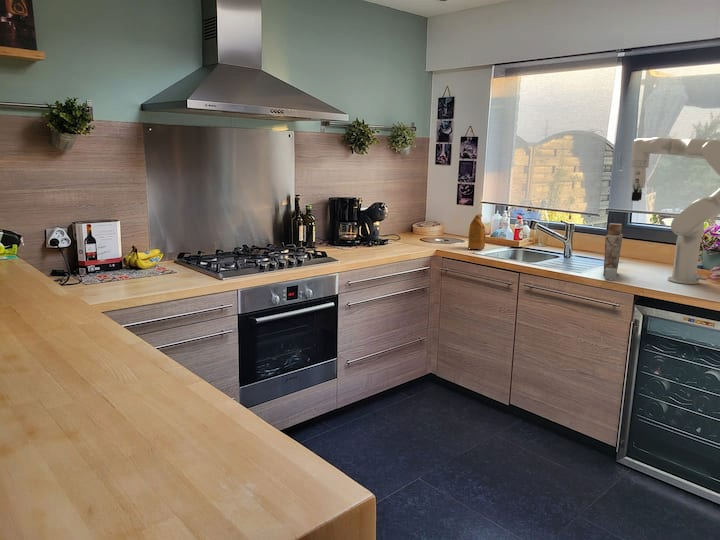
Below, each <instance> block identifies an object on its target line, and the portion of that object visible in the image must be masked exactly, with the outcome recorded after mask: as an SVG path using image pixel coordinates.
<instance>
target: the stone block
mask: <svg viewBox="0 0 720 540" xmlns="http://www.w3.org/2000/svg"><path fill="white" fill-rule="evenodd" d="M623 235H624V234H622V233H621V234H620V235H609V234H607V235H606V236H605V241H604V242H605V243H604V261H603V262H604V263H603V276H605V268H617V270H619V269H618V268H619V263H620V256H621V249H622V241H623Z"/></svg>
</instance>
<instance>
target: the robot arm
mask: <svg viewBox="0 0 720 540" xmlns="http://www.w3.org/2000/svg"><path fill="white" fill-rule="evenodd" d="M650 154H651V155H652V154H654V155H669V156H681V157H685V158H686V159H687V158H689V159H699V160H701V159H702V160H705V161H706V162H707V163H708V165H710V166H711V168H712V169H713V170H714V171H715V173H716V174H717V175H718V176H719V177H720V139H707V138H704V139H703V138H687V139H685V138H684V139H682V138H668V137H659V136H658V137H650V138H643V137H642V138H635V139H634V140H633V143H632V156H631V166H630V167H631V169H633V171H632V182H631V184H632V185H631V187H632V192H631V201H632V202H639V201H641V200H642V195H643V189H645V187H646V177H647V169H649V166H650V156H651V155H650ZM719 215H720V187H719V188H717V189H716V191H714V192H713V193H711V194H710V195H709V196H706V197H699V198H698V199H695V200H694V201H693V202H692V203H689V205H688V206H687V207H685V208H684V209H683V210H682V211H681V212H680V213H678V214H677V215H676V216H675V217H674V218H673V219H672V220H671V224H670V228H671V231H672V232H673V234H675V235H677V239H676V242H675V243H676V244H675V250H674V259H673V266H672V274H671V276H668V277H667V280H668V281H669V282H672V283H676V284H685V285H696V284H699V283H700V280H702V281H708V275H700V274H698V272H697V271H698V265H699V256H700V248H701V242H702V237H703V234H704V230H705V222H707V220H711V219H714V218H716V217H718V216H719Z"/></svg>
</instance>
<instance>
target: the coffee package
mask: <svg viewBox="0 0 720 540" xmlns="http://www.w3.org/2000/svg"><path fill="white" fill-rule="evenodd" d="M482 218H483V214H482V213H478V214H475V216H474V218H473V219H472V220H471V222H470V224H469V230H468V243H467V244H468V245H467V249H468V248H470V249H478V250H479V251H481V250H483V249H485V246H486V234H487V233H486V227H485V225H484V223H483V221H482ZM478 250H477V251H478Z"/></svg>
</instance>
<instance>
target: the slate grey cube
mask: <svg viewBox="0 0 720 540" xmlns="http://www.w3.org/2000/svg"><path fill="white" fill-rule="evenodd" d="M617 275H618V269H617V268H605V275H604V278H603V279H611V280H610V281H614V280H616V281H617Z"/></svg>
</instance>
